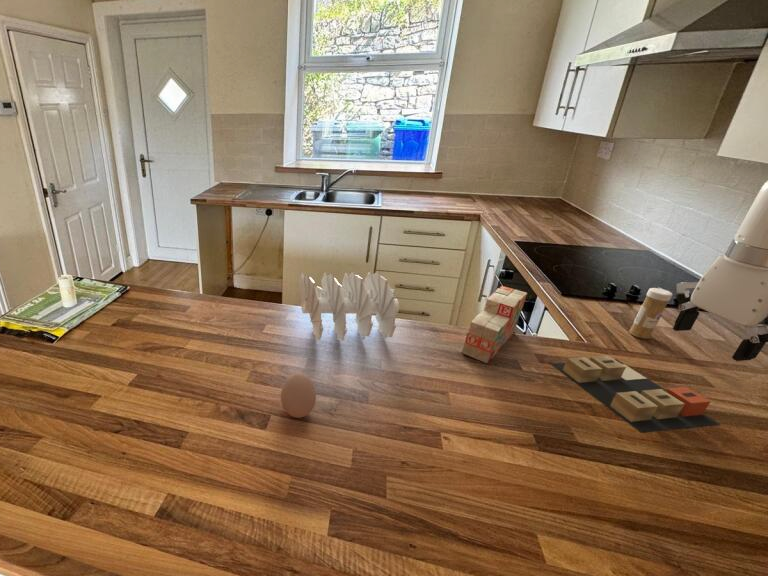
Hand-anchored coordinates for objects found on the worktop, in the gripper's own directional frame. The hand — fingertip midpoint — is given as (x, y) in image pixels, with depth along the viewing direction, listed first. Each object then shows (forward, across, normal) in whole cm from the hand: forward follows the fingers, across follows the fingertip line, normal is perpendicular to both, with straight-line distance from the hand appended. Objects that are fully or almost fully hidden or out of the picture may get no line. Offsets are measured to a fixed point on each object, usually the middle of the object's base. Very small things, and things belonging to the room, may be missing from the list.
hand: (709, 343), depth 73 cm
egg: (+18, +8, +74) cm, 76 cm away
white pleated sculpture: (+18, +37, +54) cm, 68 cm away
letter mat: (+18, +8, +1) cm, 20 cm away
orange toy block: (+17, +2, -6) cm, 18 cm away
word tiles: (+17, +8, +4) cm, 19 cm away
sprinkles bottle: (+18, +29, -26) cm, 43 cm away
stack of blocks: (+18, +29, +18) cm, 39 cm away
